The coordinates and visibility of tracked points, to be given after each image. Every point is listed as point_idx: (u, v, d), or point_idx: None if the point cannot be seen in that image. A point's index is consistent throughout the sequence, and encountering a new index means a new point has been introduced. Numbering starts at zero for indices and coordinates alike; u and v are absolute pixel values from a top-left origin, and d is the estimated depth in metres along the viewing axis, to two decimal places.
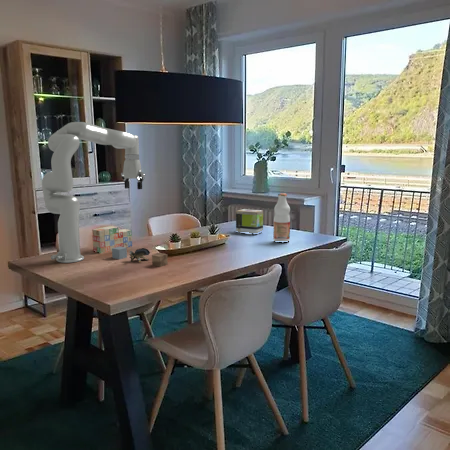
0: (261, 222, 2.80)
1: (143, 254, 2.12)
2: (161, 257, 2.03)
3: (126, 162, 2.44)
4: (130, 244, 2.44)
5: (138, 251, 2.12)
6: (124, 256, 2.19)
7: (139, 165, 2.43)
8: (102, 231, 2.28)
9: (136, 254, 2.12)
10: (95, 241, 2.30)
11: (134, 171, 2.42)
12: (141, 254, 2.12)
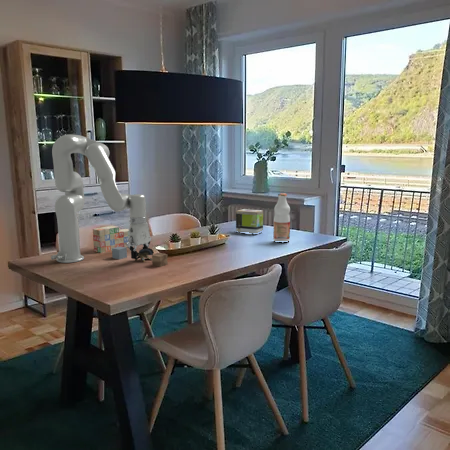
0: (261, 222, 2.80)
1: (147, 254, 2.13)
2: (161, 257, 2.03)
3: (139, 226, 2.07)
4: None
5: (142, 251, 2.13)
6: (124, 256, 2.19)
7: None
8: (102, 231, 2.29)
9: (140, 254, 2.13)
10: (95, 241, 2.31)
11: (148, 234, 2.12)
12: (145, 254, 2.13)
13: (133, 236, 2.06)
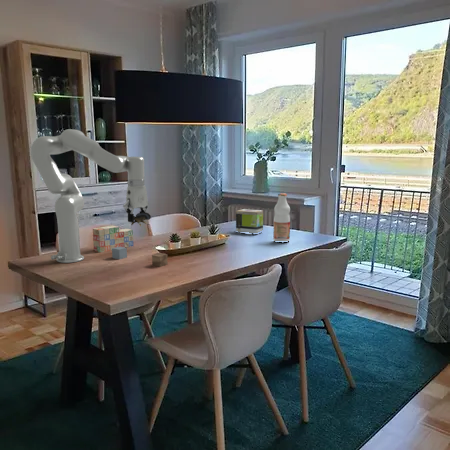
0: (261, 222, 2.80)
1: (144, 218, 2.10)
2: (161, 257, 2.03)
3: (137, 189, 2.04)
4: (131, 244, 2.45)
5: (139, 215, 2.11)
6: (124, 256, 2.19)
7: None
8: (102, 230, 2.30)
9: (137, 218, 2.10)
10: (95, 240, 2.32)
11: (146, 198, 2.10)
12: (142, 218, 2.10)
13: (130, 198, 2.03)
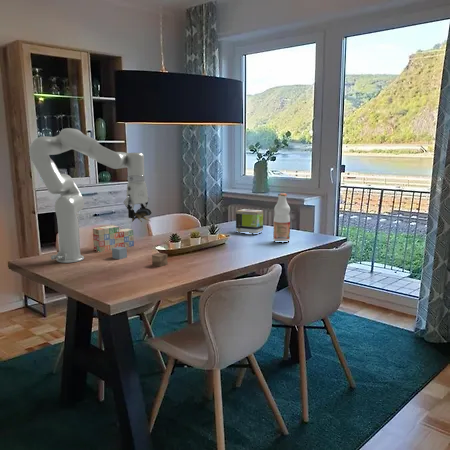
0: (261, 222, 2.80)
1: (144, 214, 2.10)
2: (161, 257, 2.03)
3: (137, 185, 2.04)
4: (132, 244, 2.45)
5: (140, 211, 2.10)
6: (124, 256, 2.19)
7: None
8: (101, 230, 2.31)
9: (137, 214, 2.10)
10: (95, 240, 2.33)
11: (146, 194, 2.09)
12: (142, 214, 2.10)
13: (131, 194, 2.02)
